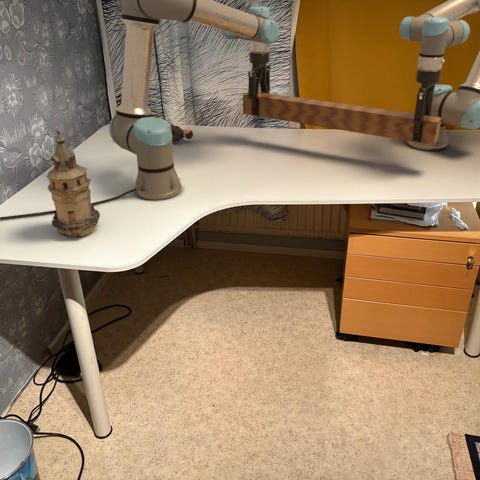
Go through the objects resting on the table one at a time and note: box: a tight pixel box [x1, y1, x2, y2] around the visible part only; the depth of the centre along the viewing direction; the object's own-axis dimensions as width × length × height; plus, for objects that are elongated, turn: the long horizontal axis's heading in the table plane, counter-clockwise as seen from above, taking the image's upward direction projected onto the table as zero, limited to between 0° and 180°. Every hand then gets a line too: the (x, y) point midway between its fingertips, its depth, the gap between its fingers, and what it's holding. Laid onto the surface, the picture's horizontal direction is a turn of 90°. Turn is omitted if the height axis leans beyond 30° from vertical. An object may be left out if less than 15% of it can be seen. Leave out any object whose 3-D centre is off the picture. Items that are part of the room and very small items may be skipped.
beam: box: [242, 91, 442, 145], centre depth 196 cm, size 74×6×8 cm, turn 60°
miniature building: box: [46, 129, 101, 237], centre depth 148 cm, size 13×14×30 cm
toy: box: [169, 123, 194, 144], centre depth 221 cm, size 26×6×30 cm
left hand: (259, 112), depth 212 cm, fingers closed on beam, 6 cm apart
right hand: (419, 138), depth 184 cm, fingers closed on beam, 6 cm apart
